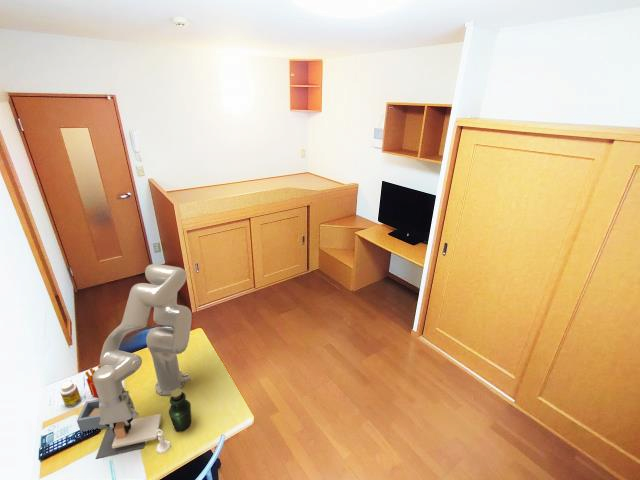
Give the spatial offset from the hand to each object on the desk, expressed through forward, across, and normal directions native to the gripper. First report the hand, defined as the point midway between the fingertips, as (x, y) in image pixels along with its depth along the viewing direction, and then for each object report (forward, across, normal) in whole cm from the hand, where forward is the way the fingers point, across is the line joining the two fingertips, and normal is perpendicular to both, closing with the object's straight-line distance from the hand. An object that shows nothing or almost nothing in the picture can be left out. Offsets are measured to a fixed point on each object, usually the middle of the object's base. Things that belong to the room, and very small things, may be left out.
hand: (122, 431), depth 120 cm
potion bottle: (+4, -21, 0) cm, 21 cm away
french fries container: (+4, +14, -25) cm, 29 cm away
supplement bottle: (+4, +26, -23) cm, 35 cm away
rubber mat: (+4, 0, 0) cm, 4 cm away
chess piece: (+4, -15, +8) cm, 17 cm away
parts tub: (+4, +10, -11) cm, 15 cm away
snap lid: (+2, -5, 0) cm, 5 cm away
